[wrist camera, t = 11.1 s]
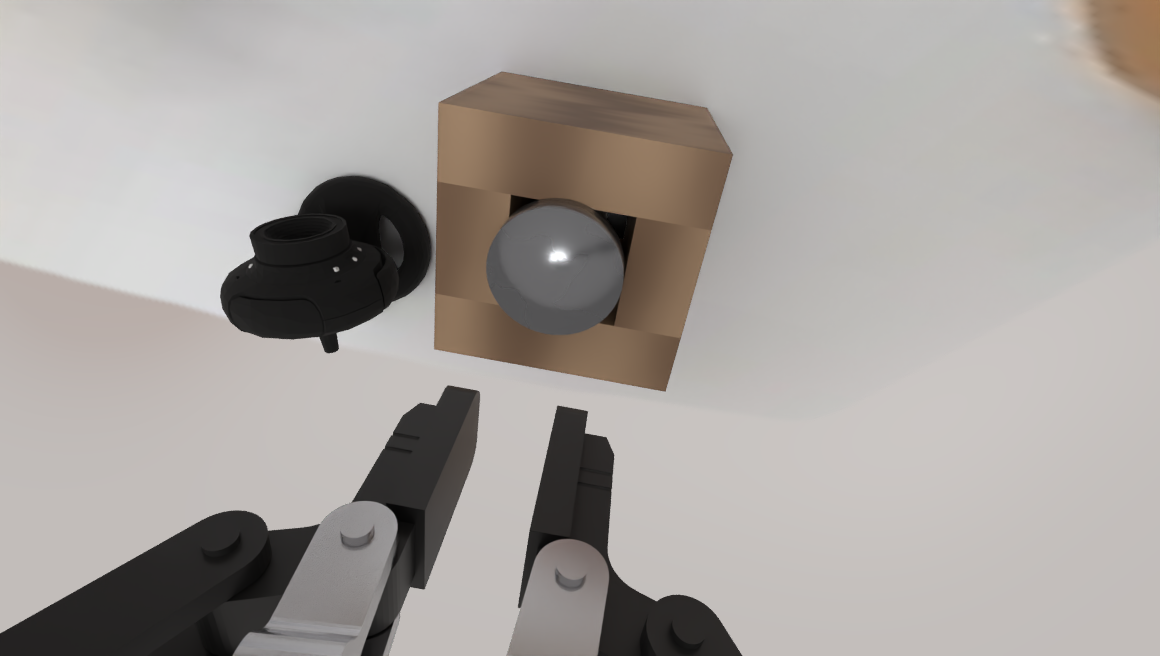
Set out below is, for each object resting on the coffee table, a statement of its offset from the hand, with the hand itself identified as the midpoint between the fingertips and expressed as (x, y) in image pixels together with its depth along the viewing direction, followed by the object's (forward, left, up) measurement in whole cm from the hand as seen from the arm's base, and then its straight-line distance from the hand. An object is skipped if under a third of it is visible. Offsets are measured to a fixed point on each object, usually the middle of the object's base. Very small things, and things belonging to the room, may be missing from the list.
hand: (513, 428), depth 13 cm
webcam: (+12, +5, -19) cm, 23 cm away
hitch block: (0, 0, -19) cm, 19 cm away
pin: (0, 0, -19) cm, 19 cm away
